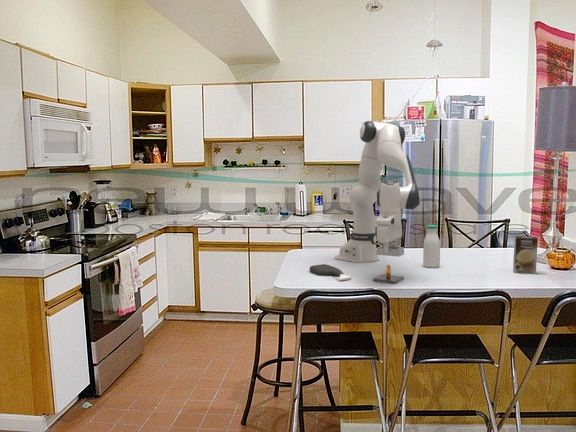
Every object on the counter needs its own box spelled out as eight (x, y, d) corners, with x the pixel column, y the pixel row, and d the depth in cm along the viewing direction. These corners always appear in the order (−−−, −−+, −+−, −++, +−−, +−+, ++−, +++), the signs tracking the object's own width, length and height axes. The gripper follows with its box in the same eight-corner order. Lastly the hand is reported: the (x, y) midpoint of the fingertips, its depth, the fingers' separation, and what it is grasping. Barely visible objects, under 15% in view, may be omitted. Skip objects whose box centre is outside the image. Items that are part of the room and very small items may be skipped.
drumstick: (327, 269, 246) (357, 280, 224) (307, 272, 241) (335, 283, 219) (327, 263, 246) (357, 274, 224) (307, 265, 241) (335, 277, 219)
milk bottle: (440, 268, 244) (441, 226, 242) (423, 267, 245) (424, 226, 243) (439, 265, 251) (439, 224, 249) (422, 264, 253) (423, 224, 251)
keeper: (372, 281, 220) (373, 265, 219) (382, 276, 228) (382, 261, 227) (395, 284, 214) (395, 268, 214) (403, 279, 223) (404, 263, 222)
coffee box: (514, 273, 232) (515, 237, 230) (512, 270, 238) (514, 235, 236) (536, 274, 229) (537, 238, 227) (534, 271, 235) (536, 236, 233)
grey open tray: (376, 254, 220) (376, 247, 220) (381, 252, 225) (381, 245, 225) (399, 256, 215) (399, 249, 214) (404, 254, 220) (404, 247, 219)
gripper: (391, 215, 229) (392, 246, 230) (373, 220, 211) (374, 254, 213) (405, 216, 225) (405, 247, 227) (388, 221, 208) (388, 255, 210)
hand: (390, 250), depth 220 cm, fingers closed on grey open tray, 6 cm apart
